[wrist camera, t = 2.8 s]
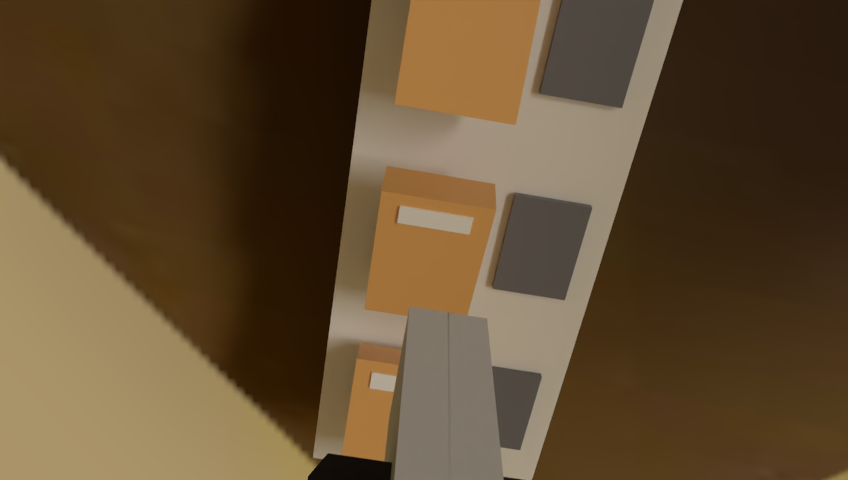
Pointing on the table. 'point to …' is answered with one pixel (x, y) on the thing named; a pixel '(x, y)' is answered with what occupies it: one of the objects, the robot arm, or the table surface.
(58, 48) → the table surface
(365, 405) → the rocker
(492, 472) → the robot arm
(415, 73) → the orange block
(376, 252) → the orange block
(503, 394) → the power strip
